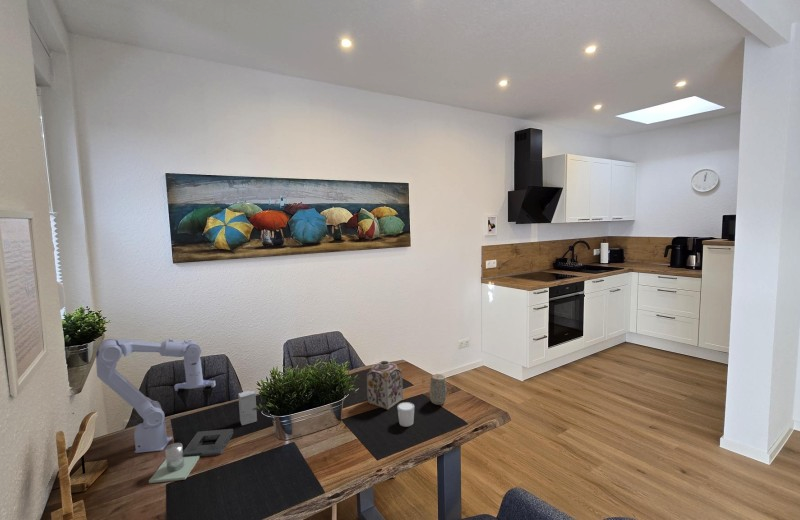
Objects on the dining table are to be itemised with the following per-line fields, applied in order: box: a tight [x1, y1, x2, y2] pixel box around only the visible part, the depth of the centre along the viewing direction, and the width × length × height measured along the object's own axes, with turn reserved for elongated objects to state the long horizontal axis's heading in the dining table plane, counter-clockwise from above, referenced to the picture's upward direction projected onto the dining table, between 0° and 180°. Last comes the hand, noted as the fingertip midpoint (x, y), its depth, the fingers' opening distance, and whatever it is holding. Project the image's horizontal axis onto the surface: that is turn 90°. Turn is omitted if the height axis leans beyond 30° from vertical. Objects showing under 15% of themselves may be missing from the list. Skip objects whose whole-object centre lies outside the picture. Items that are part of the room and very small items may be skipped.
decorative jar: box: [366, 360, 404, 410], centre depth 168 cm, size 12×12×18 cm
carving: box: [429, 373, 447, 406], centre depth 165 cm, size 6×8×12 cm
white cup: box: [396, 401, 415, 427], centre depth 150 cm, size 7×7×7 cm
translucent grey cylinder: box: [164, 442, 184, 472], centre depth 126 cm, size 5×5×7 cm
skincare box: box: [237, 389, 258, 426], centre depth 155 cm, size 6×4×12 cm
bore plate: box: [183, 428, 234, 457], centre depth 140 cm, size 13×13×2 cm
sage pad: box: [148, 456, 201, 484], centre depth 126 cm, size 11×11×1 cm
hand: (197, 405), depth 149 cm, fingers open, 7 cm apart
